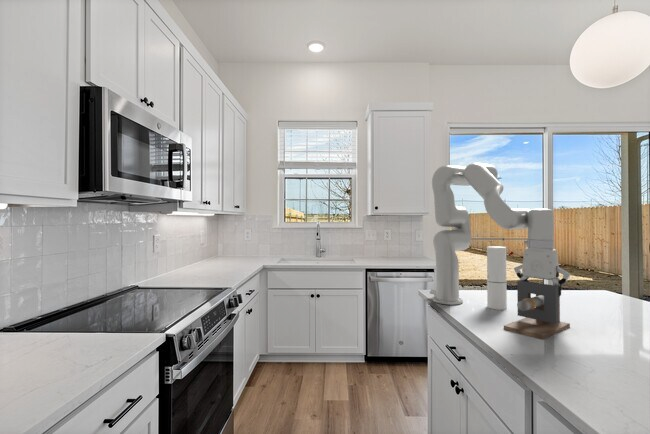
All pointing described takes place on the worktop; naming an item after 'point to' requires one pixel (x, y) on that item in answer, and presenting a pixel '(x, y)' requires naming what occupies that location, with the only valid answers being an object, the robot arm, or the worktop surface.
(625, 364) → the worktop surface
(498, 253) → the cylindrical container
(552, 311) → the dark grey square plate
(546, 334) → the pipe mount
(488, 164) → the robot arm
